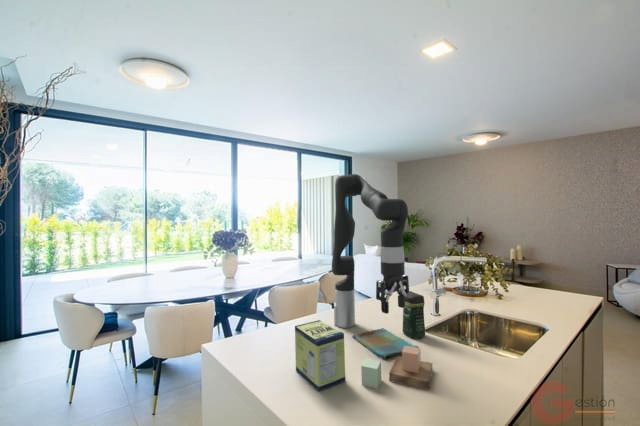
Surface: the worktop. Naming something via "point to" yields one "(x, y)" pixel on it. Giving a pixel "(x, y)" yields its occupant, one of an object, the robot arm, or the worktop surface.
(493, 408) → the worktop surface
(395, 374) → the plinth
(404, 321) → the coffee jar
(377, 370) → the sage block
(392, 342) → the dish towel
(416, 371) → the terracotta block
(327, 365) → the protein box
